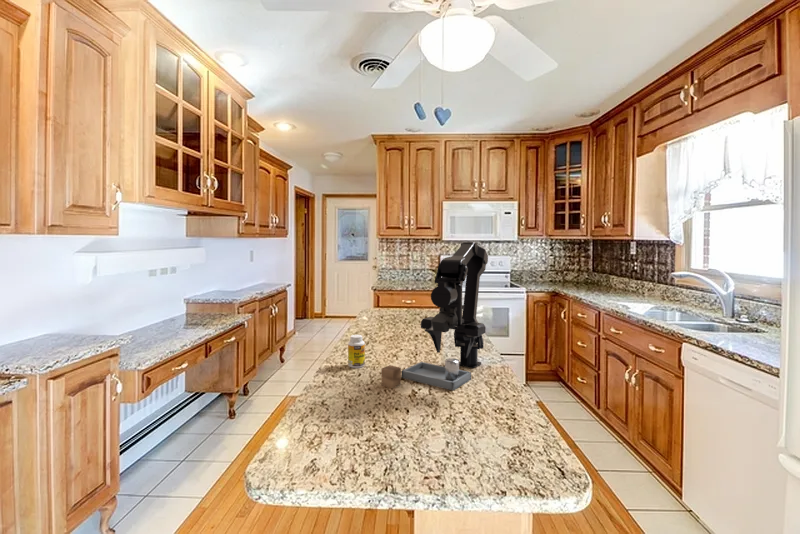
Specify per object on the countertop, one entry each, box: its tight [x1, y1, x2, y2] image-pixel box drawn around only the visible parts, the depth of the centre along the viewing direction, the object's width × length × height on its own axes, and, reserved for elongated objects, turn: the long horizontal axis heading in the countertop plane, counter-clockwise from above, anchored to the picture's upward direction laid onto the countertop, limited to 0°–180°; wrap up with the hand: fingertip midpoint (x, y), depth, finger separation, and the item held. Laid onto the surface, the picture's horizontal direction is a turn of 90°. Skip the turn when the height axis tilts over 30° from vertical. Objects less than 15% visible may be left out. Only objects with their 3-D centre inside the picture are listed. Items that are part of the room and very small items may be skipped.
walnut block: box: [381, 364, 402, 389], centre depth 116 cm, size 4×4×5 cm
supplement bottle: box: [347, 334, 366, 369], centre depth 133 cm, size 6×6×10 cm
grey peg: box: [444, 357, 460, 382], centre depth 118 cm, size 4×4×6 cm
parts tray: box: [401, 361, 472, 391], centre depth 121 cm, size 11×18×2 cm, turn 54°
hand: (451, 354), depth 117 cm, fingers open, 9 cm apart
